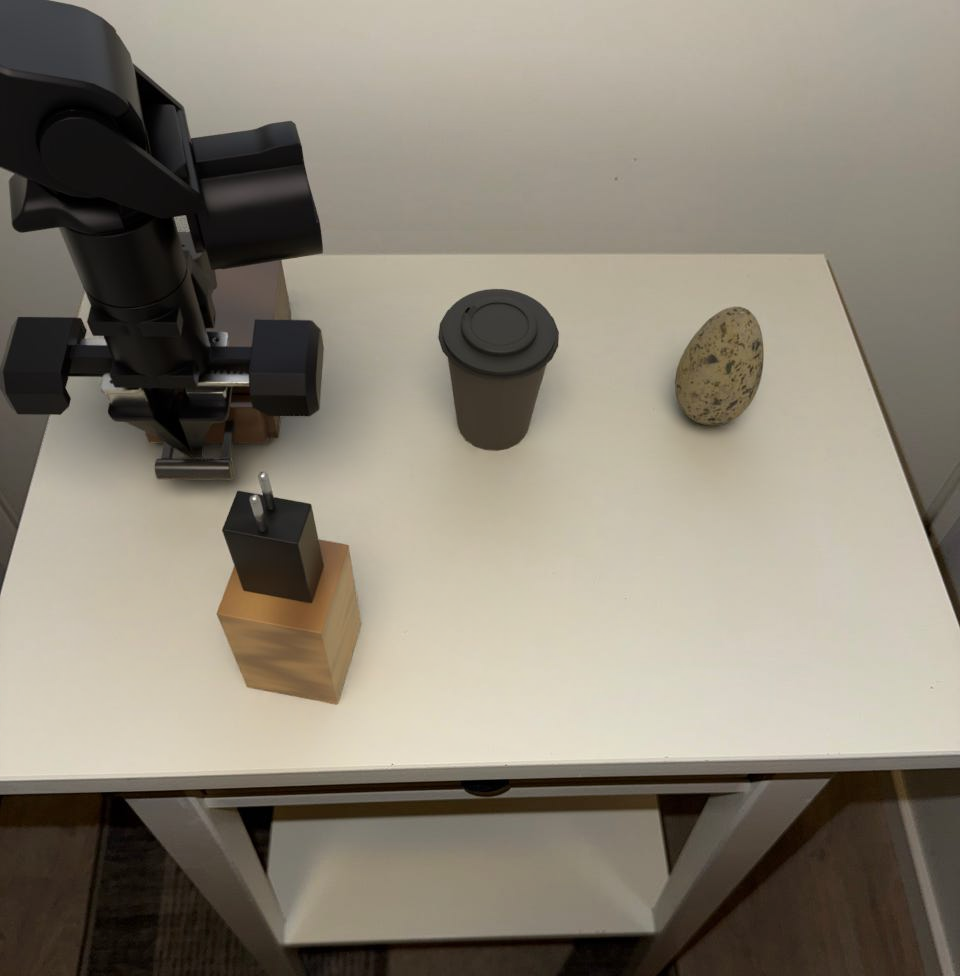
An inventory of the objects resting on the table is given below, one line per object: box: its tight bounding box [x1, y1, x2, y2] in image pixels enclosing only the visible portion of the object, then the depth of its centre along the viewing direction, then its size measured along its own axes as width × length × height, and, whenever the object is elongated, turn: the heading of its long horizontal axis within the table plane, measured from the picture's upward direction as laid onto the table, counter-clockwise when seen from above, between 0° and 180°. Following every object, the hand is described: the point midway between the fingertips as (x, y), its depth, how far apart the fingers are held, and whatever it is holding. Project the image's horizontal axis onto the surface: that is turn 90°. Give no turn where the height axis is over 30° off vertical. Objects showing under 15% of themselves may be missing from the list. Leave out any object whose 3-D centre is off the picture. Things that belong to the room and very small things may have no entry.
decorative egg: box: [674, 306, 765, 427], centre depth 70 cm, size 6×6×10 cm
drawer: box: [144, 392, 269, 481], centre depth 70 cm, size 16×8×4 cm, turn 1°
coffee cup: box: [437, 288, 560, 452], centre depth 69 cm, size 8×8×10 cm
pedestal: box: [216, 538, 362, 705], centre depth 60 cm, size 6×6×10 cm
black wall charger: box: [221, 471, 324, 603], centre depth 52 cm, size 4×3×9 cm, turn 79°
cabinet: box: [144, 260, 292, 439], centre depth 72 cm, size 13×10×6 cm
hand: (197, 452), depth 68 cm, fingers closed
